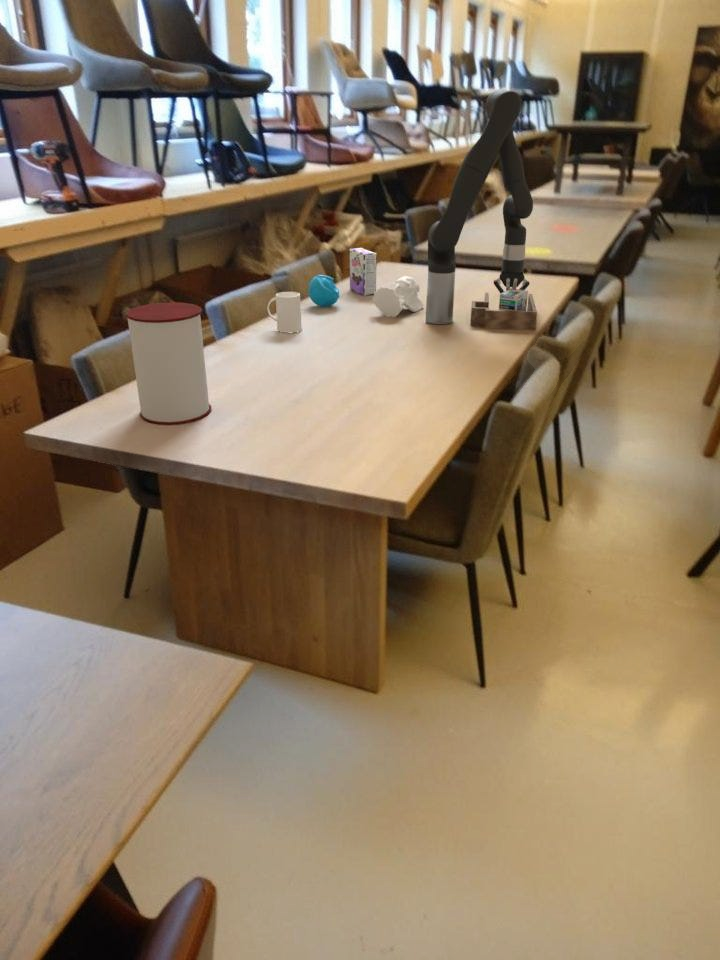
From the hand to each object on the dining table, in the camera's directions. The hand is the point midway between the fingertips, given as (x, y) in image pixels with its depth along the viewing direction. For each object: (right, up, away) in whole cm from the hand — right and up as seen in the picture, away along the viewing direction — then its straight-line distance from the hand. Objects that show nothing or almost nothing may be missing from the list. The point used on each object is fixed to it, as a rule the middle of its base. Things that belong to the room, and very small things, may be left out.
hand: (509, 307), depth 264 cm
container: (-98, -44, -80) cm, 134 cm away
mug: (-78, -10, -12) cm, 80 cm away
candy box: (-52, +15, +39) cm, 66 cm away
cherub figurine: (-39, +1, +10) cm, 40 cm away
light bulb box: (0, -7, -5) cm, 8 cm away
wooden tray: (-3, -4, 0) cm, 5 cm away
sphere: (-66, +4, +17) cm, 69 cm away
